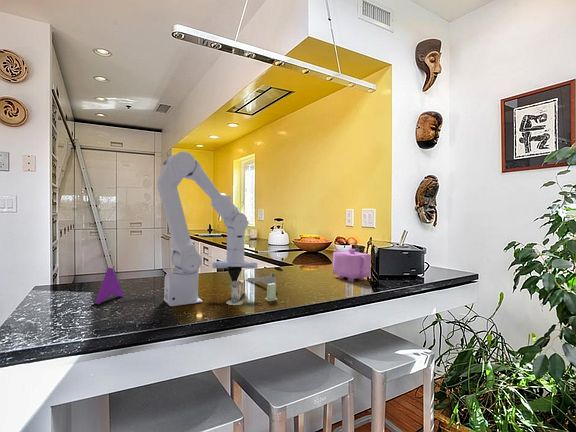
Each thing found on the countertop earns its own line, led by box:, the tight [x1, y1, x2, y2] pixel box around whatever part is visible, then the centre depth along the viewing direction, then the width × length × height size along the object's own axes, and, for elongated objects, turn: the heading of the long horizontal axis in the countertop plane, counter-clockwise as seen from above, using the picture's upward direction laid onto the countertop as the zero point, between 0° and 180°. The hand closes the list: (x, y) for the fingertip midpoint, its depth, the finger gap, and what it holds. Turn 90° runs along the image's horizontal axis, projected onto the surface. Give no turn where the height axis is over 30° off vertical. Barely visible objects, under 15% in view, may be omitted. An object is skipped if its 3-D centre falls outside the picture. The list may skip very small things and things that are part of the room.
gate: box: [237, 278, 246, 300], centre depth 107 cm, size 11×2×4 cm, turn 179°
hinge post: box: [225, 280, 244, 307], centre depth 100 cm, size 5×5×7 cm
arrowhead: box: [94, 267, 125, 305], centre depth 100 cm, size 10×2×10 cm
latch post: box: [264, 283, 278, 302], centre depth 105 cm, size 3×2×5 cm
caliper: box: [245, 272, 277, 285], centre depth 124 cm, size 20×1×6 cm, turn 35°
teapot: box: [332, 248, 372, 282], centre depth 142 cm, size 20×10×12 cm, turn 32°
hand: (234, 290), depth 110 cm, fingers closed
